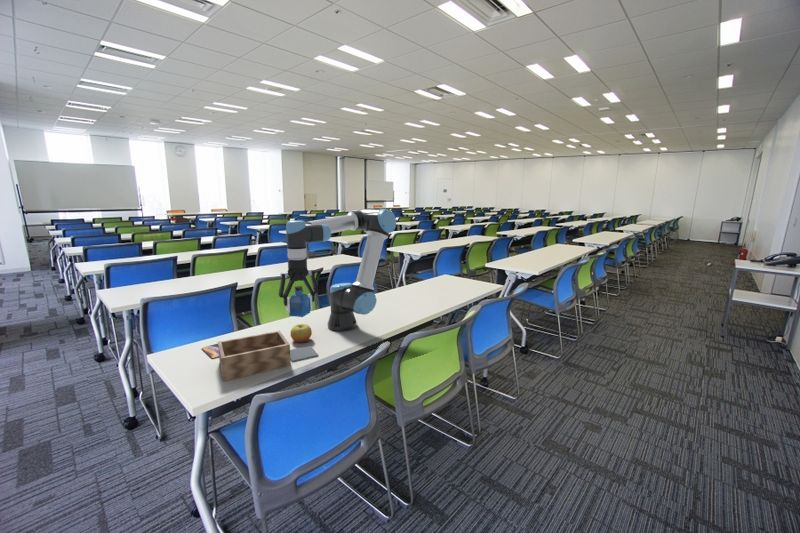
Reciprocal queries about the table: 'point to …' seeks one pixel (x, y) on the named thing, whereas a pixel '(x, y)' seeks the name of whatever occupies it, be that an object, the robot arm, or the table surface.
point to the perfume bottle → (299, 303)
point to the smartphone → (211, 351)
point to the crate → (253, 354)
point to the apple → (301, 333)
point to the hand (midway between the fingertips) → (299, 310)
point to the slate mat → (302, 353)
